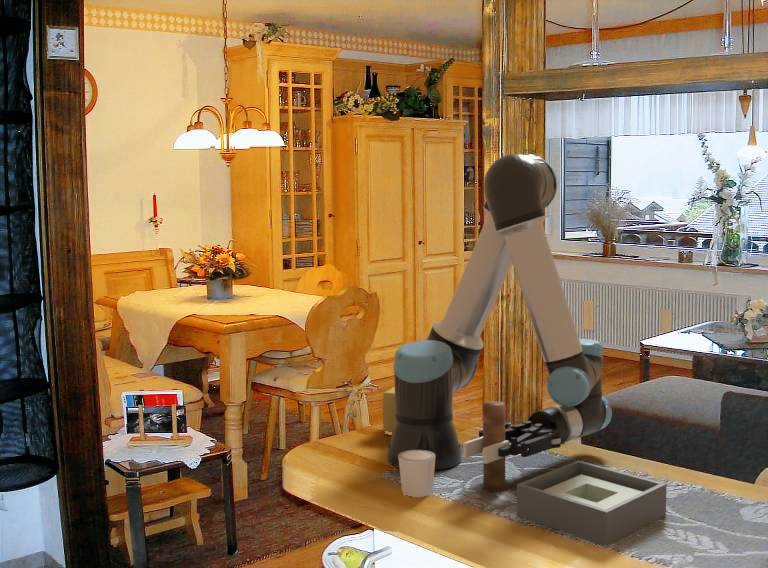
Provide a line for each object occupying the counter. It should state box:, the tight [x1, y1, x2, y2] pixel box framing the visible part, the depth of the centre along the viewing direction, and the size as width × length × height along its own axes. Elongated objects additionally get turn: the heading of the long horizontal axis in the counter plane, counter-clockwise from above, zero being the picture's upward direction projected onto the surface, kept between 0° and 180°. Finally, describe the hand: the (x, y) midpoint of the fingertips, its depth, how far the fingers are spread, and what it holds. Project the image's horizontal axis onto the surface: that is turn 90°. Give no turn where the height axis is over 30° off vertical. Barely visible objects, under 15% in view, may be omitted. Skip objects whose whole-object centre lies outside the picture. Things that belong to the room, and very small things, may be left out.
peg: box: [482, 400, 506, 493], centre depth 163 cm, size 4×4×16 cm
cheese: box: [382, 385, 395, 433], centre depth 201 cm, size 10×11×10 cm
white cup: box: [398, 450, 435, 498], centre depth 163 cm, size 7×7×7 cm
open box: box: [516, 459, 667, 547], centre depth 150 cm, size 18×18×6 cm
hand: (474, 453), depth 160 cm, fingers closed on peg, 4 cm apart
